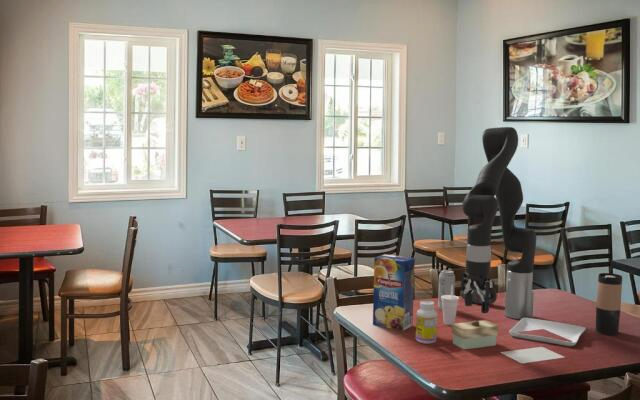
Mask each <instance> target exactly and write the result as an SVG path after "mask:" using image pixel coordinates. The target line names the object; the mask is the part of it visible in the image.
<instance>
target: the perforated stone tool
mask: <svg viewBox="0 0 640 400" xmlns="http://www.w3.org/2000/svg"><path fill="white" fill-rule="evenodd" d="M483 291H485V289H484V290H483ZM497 293H498V291H497V290H496V288H494V300H492V301H490V302H489V306H490V305H493V304H494V303H496V301H497V298H498V294H497ZM459 294H460V297H461V298H462V299H463V300H464V301H465V294H464V291H461V290H460V293H459ZM471 294H472V304H477V305H481V304H482V299H481V296H480V295H479V294H478V292H477V291H475V290H474V291H473V292H472V293H471ZM489 296H490V297H491V293H489ZM484 297H485V295H484Z"/></svg>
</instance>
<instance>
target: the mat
mask: <svg viewBox="0 0 640 400" xmlns="http://www.w3.org/2000/svg"><path fill="white" fill-rule="evenodd" d="M500 353H501V354H502V355H504V356H506V357H508V358H510V359H513V360H514V361H516V362H518V363H519V364H527V363H535V362H544V361H549V360H558V359H564V358H565V356H563V355H562V354H559V353H557V352H554V351H553V350H550V349H547V348H546V347H544V346H538V347H530V348H523V349H521V348H520V349H515V350H508V351H500Z"/></svg>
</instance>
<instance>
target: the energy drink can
mask: <svg viewBox="0 0 640 400" xmlns="http://www.w3.org/2000/svg"><path fill="white" fill-rule="evenodd" d="M455 284H456V275H455V274H454V270H449V269H448V270H447V269H443V270H440V273H439V275H438V295H437V297H438V299H437V308H438V310H439V311H442V312H443V308H442V300H441V296H443V295H451V285H453V295H454V296H455V290H456V289H455V288H456V285H455Z"/></svg>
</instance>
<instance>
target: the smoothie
mask: <svg viewBox="0 0 640 400" xmlns="http://www.w3.org/2000/svg"><path fill="white" fill-rule="evenodd" d="M441 300H442V308H443V311H442V318H443V324H444V325H445V326H446V325H447V326H452V324H455V323H456V317H457V311H458V304H459V301H460V297H459V296H456V295H455V294H454V295H453V285H451V295H443V296H441Z"/></svg>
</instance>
